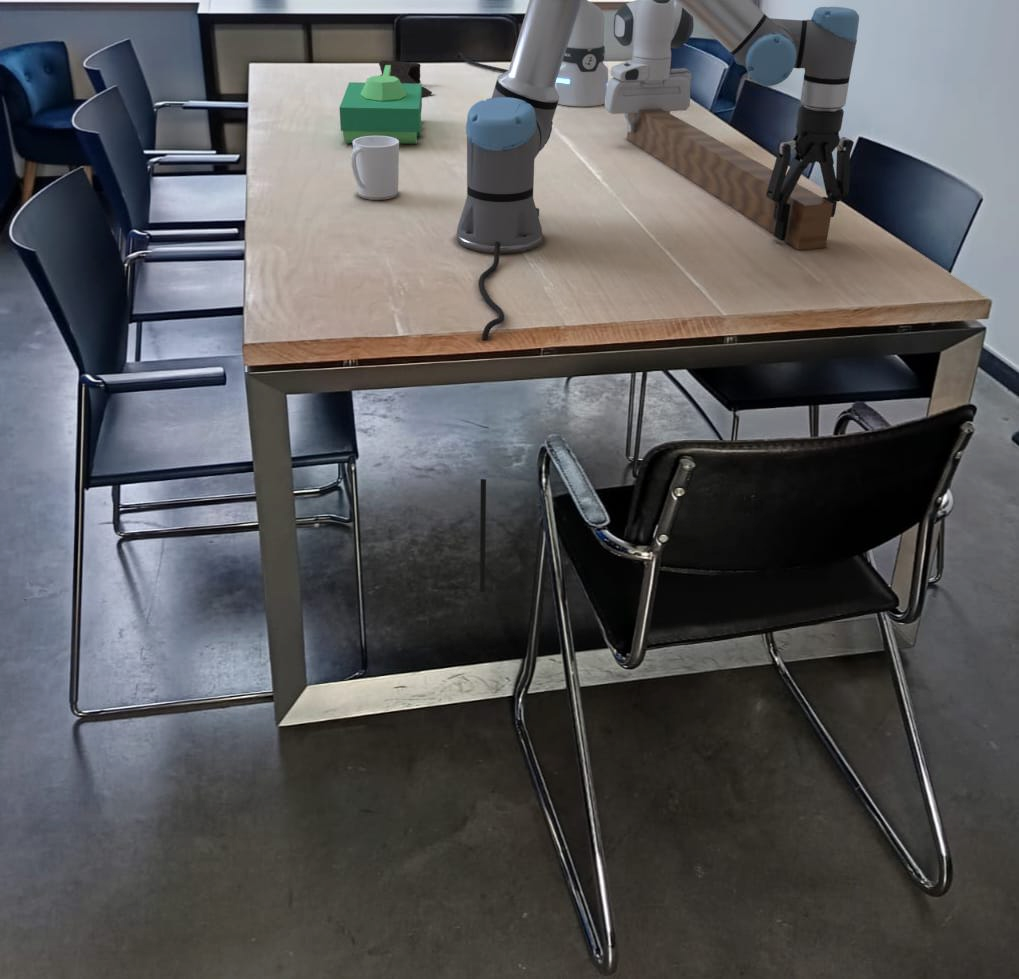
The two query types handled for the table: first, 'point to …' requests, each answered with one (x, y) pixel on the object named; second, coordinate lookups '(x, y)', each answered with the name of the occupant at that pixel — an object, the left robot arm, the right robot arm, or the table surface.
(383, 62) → the axe head
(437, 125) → the table surface
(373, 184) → the mug
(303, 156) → the table surface
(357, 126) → the green tank
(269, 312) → the table surface
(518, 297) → the table surface
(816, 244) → the bar
